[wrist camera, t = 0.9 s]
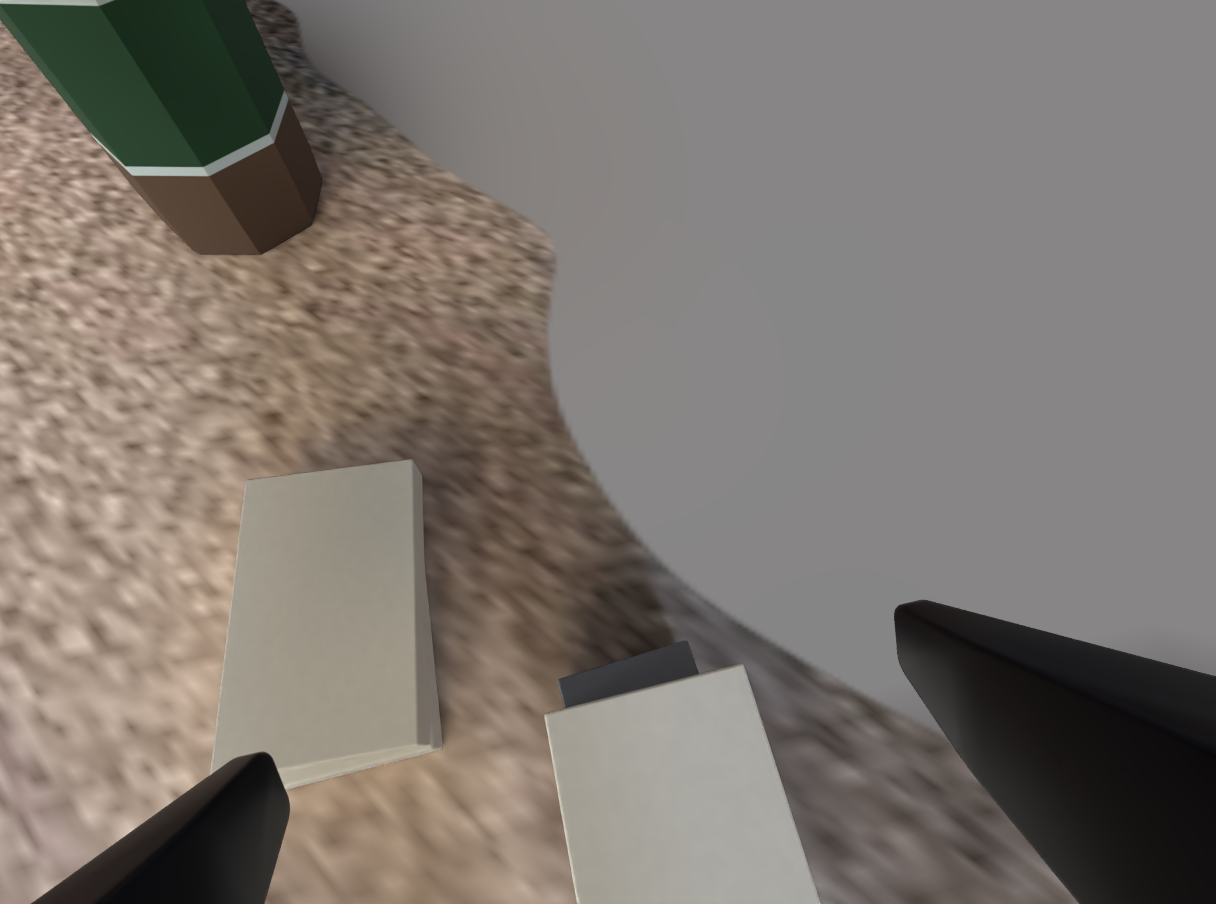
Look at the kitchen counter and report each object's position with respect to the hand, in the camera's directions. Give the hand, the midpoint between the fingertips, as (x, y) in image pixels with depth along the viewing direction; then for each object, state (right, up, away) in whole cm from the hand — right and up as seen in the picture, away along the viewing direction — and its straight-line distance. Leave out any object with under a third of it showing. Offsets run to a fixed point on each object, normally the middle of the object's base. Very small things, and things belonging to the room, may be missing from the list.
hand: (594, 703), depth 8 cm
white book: (+2, -7, +7) cm, 10 cm away
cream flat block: (-9, -3, +12) cm, 15 cm away
